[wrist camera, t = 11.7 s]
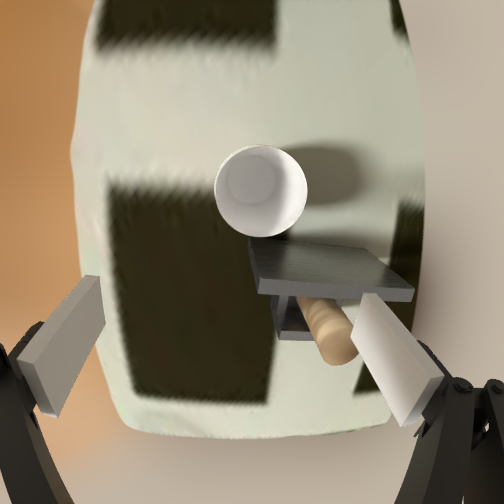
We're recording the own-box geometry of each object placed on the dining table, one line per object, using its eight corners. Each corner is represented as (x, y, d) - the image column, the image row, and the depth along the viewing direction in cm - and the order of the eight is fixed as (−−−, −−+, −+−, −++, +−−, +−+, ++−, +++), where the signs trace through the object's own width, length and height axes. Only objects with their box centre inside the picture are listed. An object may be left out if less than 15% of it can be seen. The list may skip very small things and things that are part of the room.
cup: (298, 186, 40) (326, 202, 29) (244, 226, 41) (251, 256, 30) (258, 132, 37) (273, 125, 26) (203, 173, 38) (193, 183, 27)
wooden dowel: (296, 273, 41) (328, 330, 28) (326, 276, 41) (367, 331, 28) (290, 302, 42) (317, 365, 29) (320, 304, 43) (354, 364, 30)
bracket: (248, 236, 42) (260, 278, 29) (366, 249, 44) (415, 289, 31) (239, 303, 45) (246, 363, 32) (350, 309, 47) (386, 362, 34)
